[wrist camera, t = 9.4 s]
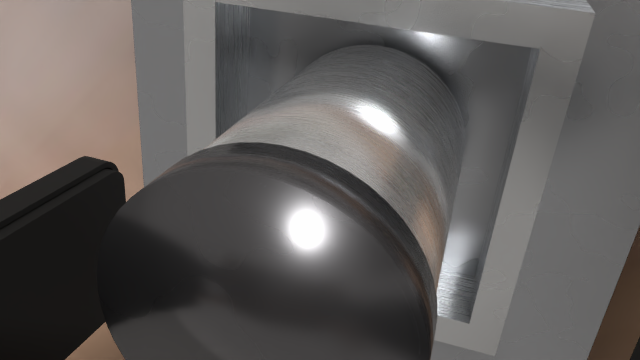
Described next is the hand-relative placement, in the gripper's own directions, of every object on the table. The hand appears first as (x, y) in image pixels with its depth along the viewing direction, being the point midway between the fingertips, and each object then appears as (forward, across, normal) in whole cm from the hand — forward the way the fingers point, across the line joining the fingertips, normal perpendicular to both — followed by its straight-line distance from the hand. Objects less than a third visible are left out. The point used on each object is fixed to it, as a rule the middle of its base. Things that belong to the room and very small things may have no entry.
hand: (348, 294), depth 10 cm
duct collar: (+7, +1, 0) cm, 7 cm away
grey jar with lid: (+6, +1, 0) cm, 6 cm away
